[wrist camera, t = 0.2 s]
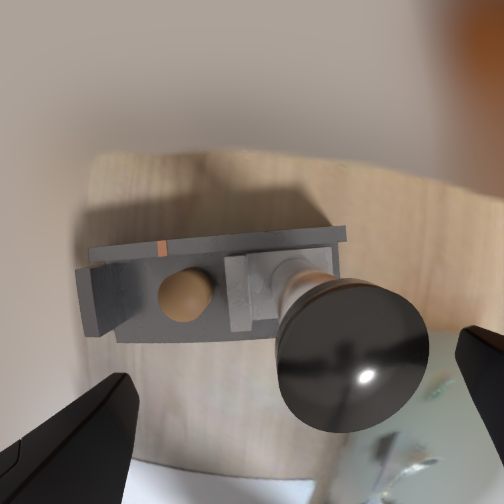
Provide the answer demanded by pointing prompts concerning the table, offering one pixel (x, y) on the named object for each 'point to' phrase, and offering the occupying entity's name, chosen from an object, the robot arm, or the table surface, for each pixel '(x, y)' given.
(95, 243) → the table surface
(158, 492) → the table surface
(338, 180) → the table surface
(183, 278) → the tan rounded cylinder
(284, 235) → the grey channel tray
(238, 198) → the table surface
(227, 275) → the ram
